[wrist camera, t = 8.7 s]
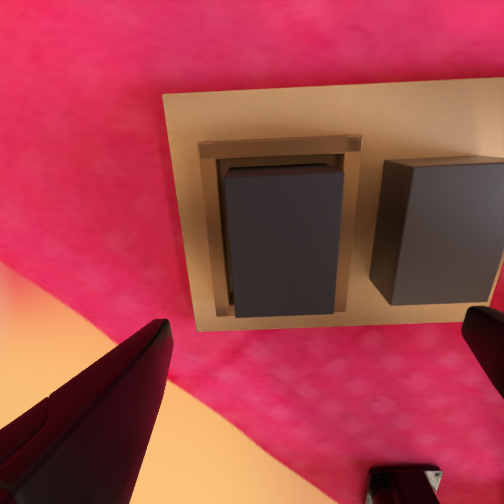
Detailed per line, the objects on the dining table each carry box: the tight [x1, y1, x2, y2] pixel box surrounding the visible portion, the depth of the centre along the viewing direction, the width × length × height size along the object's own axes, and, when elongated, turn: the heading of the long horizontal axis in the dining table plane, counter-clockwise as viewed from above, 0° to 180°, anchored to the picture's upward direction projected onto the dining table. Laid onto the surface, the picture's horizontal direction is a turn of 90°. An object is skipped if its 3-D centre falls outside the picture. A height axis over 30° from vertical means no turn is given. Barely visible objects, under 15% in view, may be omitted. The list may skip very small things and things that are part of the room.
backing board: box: [162, 77, 504, 332], centre depth 15 cm, size 14×19×4 cm
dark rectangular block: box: [224, 163, 345, 318], centre depth 15 cm, size 7×5×4 cm
